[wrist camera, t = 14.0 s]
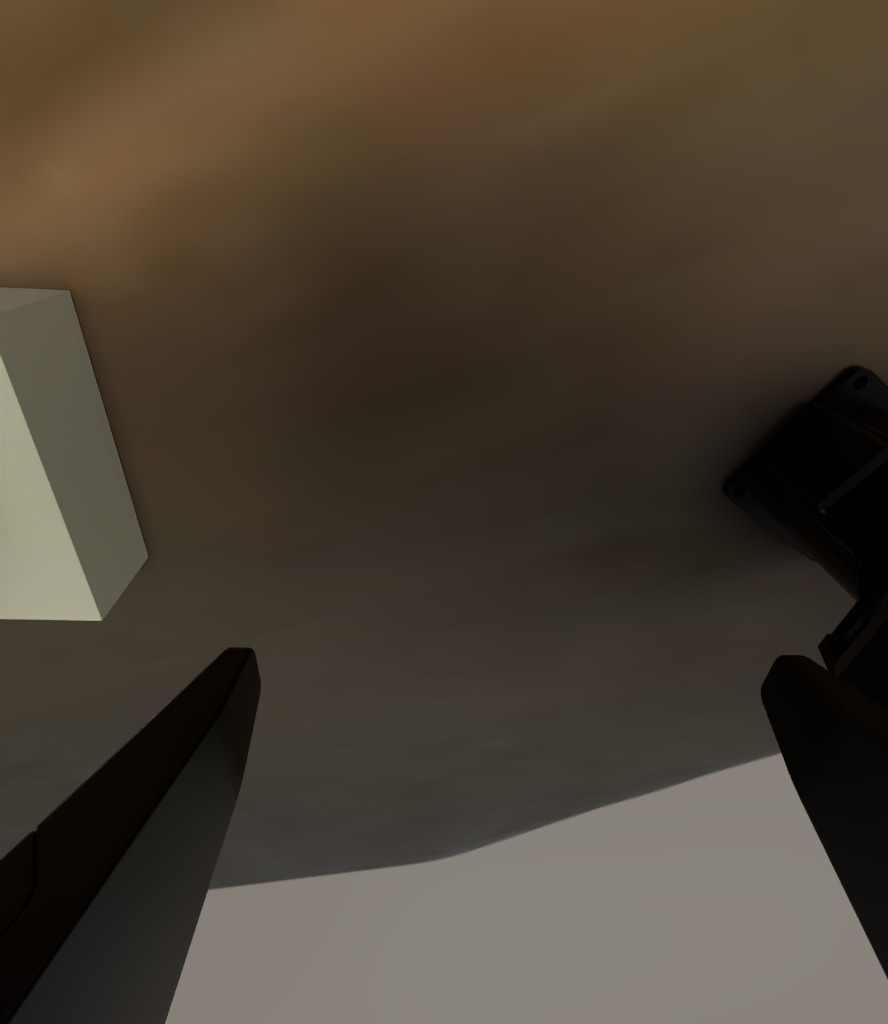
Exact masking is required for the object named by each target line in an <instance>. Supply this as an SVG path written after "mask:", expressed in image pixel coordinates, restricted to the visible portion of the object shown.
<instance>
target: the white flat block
mask: <svg viewBox="0 0 888 1024" xmlns="http://www.w3.org/2000/svg"><path fill="white" fill-rule="evenodd" d="M147 559H148V553H147V550H146V546H145V543H144V540H143V536H142V533H141V530H140V526H139V523H138V520H137V516H136V513H135V509H134V506H133V503H132V499H131V496H130V493H129V489H128V486H127V482H126V479H125V476H124V472H123V469H122V466H121V462H120V459H119V455H118V452H117V449H116V445H115V442H114V439H113V435H112V432H111V429H110V425H109V422H108V418H107V415H106V412H105V408H104V405H103V402H102V398H101V395H100V391H99V388H98V385H97V381H96V378H95V375H94V371H93V368H92V365H91V361H90V358H89V354H88V351H87V348H86V344H85V341H84V338H83V334H82V331H81V327H80V324H79V321H78V317H77V314H76V311H75V307H74V304H73V300H72V297H71V294H70V290H51V289H29V288H8V287H0V619H35V620H91V621H102V620H103V619H104V617H105V616H106V615H107V613H108V612H109V611H110V609H111V608H112V606H113V605H114V604H115V602H116V601H117V600H118V598H119V597H120V596H121V594H122V593H123V591H124V590H125V589H126V587H127V586H128V585H129V583H130V582H131V580H132V579H133V578H134V576H135V575H136V574H137V572H138V571H139V570H140V568H141V567H142V565H143V564H144V563H145V561H146V560H147Z"/></svg>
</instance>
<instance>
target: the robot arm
mask: <svg viewBox="0 0 888 1024" xmlns="http://www.w3.org/2000/svg"><path fill="white" fill-rule="evenodd" d="M860 376H861V377H860ZM859 377H860V380H859V381H858V383H857V384H855V385H853V383H854V381H855V380H856V379H857V378H859ZM738 486H741V488H740V489H739V490H738V491H736V492H734V490H735V488H737V487H738ZM723 493H724V494H725V495H726V496H727V497H728V499H729V500H731V501H732V502H733V503H735V504H736V505H737V506H739V507H740V508H741V509H743V510H744V511H745V512H747V513H748V514H749V515H751V516H752V517H754V518H755V519H756V520H758V521H759V522H760V523H762V524H763V525H764V526H766V527H767V528H768V529H770V530H771V531H772V532H774V533H775V534H777V535H778V536H779V537H781V538H782V539H783V540H785V541H786V542H787V543H789V544H790V545H791V546H793V547H794V548H795V549H797V550H798V551H800V552H801V553H802V554H804V555H805V556H806V557H808V558H809V559H810V560H813V561H817V562H818V563H819V564H820V565H821V566H822V567H823V568H824V569H825V570H826V571H827V572H828V573H829V574H830V575H831V576H832V577H833V578H834V579H835V580H836V581H837V582H838V583H839V584H840V585H841V586H842V587H843V588H844V589H845V590H846V591H847V592H848V593H849V594H850V595H851V596H852V597H853V598H854V599H855V600H856V601H857V602H856V603H855V605H854V606H853V607H852V608H851V610H850V611H849V612H848V613H847V615H846V616H845V617H844V619H843V620H842V621H841V622H840V624H839V625H838V626H837V627H836V629H835V630H834V631H833V632H832V634H827V635H826V636H825V637H824V639H823V640H822V641H821V642H820V644H819V645H818V648H819V650H820V653H821V655H822V657H823V660H824V662H825V665H826V667H827V670H826V669H825V668H823V667H822V666H820V665H819V664H817V663H816V662H814V661H813V660H811V659H809V658H808V657H805V656H801V655H782V656H779V657H778V658H776V660H775V661H774V663H773V665H772V667H771V669H770V671H769V673H768V675H767V676H766V678H765V680H764V682H763V684H762V687H761V699H762V702H763V705H764V708H765V710H766V713H767V716H768V718H769V721H770V724H771V726H772V729H773V732H774V734H775V737H776V740H777V742H778V745H779V748H780V750H781V753H782V756H783V758H784V761H785V764H786V766H787V769H788V772H789V774H790V776H791V779H792V781H793V784H794V786H795V789H796V791H797V793H798V795H799V797H800V800H801V802H802V804H803V806H804V808H805V810H806V812H807V814H808V816H809V818H810V820H811V822H812V824H813V826H814V828H815V831H816V832H817V835H818V837H819V839H820V841H821V843H822V845H823V847H824V849H825V851H826V853H827V855H828V857H829V859H830V861H831V863H832V866H833V868H834V870H835V872H836V874H837V876H838V878H839V880H840V882H841V884H842V886H843V888H844V890H845V892H846V894H847V896H848V898H849V900H850V903H851V905H852V907H853V909H854V910H855V913H856V915H857V917H858V919H859V921H860V923H861V925H862V927H863V929H864V931H865V933H866V935H867V938H868V940H869V942H870V944H871V945H872V948H873V950H874V952H875V954H876V956H877V958H878V960H879V962H880V964H881V966H882V968H883V970H884V972H885V975H886V976H887V979H888V386H887V385H886V384H885V383H884V382H883V381H882V380H881V379H880V378H879V377H878V376H877V375H876V374H875V373H874V372H873V371H871V370H869V369H866V368H864V367H862V366H855V367H852V368H850V369H849V370H847V371H846V372H845V373H844V374H842V375H841V376H840V377H839V378H838V379H837V380H836V381H835V382H834V383H833V384H832V385H830V386H829V387H828V388H827V389H826V390H825V391H824V392H823V393H822V394H821V395H820V396H819V397H817V398H816V399H815V400H814V401H813V402H812V403H811V404H810V405H809V406H808V407H807V408H805V409H804V410H803V411H802V412H801V413H800V414H799V415H798V416H797V417H796V418H795V419H794V420H792V421H791V422H790V423H789V424H788V425H787V426H786V427H785V428H784V429H783V430H782V431H780V432H779V433H778V434H777V435H776V436H775V437H774V438H773V439H772V440H771V441H770V442H769V443H767V444H766V445H765V446H764V447H763V448H762V449H761V450H760V451H759V452H758V453H757V454H756V455H754V456H753V457H752V458H751V459H750V460H749V461H748V462H747V463H746V464H745V465H744V466H742V467H741V468H740V469H739V470H738V471H737V472H736V473H735V474H734V475H733V476H732V477H731V478H729V479H728V480H727V481H726V483H725V484H724V486H723ZM260 690H261V681H260V676H259V670H258V665H257V660H256V655H255V652H254V650H253V649H252V648H238V647H231V648H228V649H226V650H224V651H223V652H222V653H221V654H220V655H219V656H218V657H217V658H216V659H215V660H214V661H213V662H212V663H210V664H209V665H208V666H207V667H206V668H205V669H204V670H203V671H202V672H201V673H200V674H199V675H198V676H197V677H196V678H194V679H193V680H192V681H191V682H190V683H189V684H188V685H187V686H186V687H185V688H184V689H183V690H182V691H181V692H180V693H178V694H177V695H176V696H175V697H174V698H173V699H172V700H171V701H170V702H169V703H168V704H167V705H166V706H165V707H164V708H162V709H161V710H160V711H159V712H158V713H157V714H156V715H155V716H154V717H153V718H152V719H151V720H150V721H149V722H148V723H146V724H145V725H144V726H143V727H142V728H141V729H140V730H139V731H138V732H137V733H136V734H135V735H134V736H133V737H131V738H130V739H129V740H128V741H127V742H126V743H125V744H124V745H123V746H122V747H121V748H120V749H119V750H118V751H117V752H115V753H114V754H113V755H112V756H111V757H110V758H109V759H108V760H107V761H106V762H105V763H104V764H103V765H102V766H101V767H99V768H98V769H97V770H96V771H95V772H94V773H93V774H92V775H91V776H90V777H89V778H88V779H87V780H86V781H85V782H83V783H82V784H81V785H80V786H79V787H78V788H77V789H76V790H75V791H74V792H73V793H72V794H71V795H70V796H69V797H67V798H66V799H65V800H64V801H63V802H62V803H61V804H60V805H59V806H58V807H57V808H56V809H55V810H54V811H53V812H51V813H50V814H49V815H48V816H47V817H46V818H45V819H44V820H43V821H42V822H41V823H40V824H39V825H38V826H37V828H36V831H31V832H30V833H29V834H28V835H27V836H26V837H24V838H23V839H22V840H21V841H20V842H19V843H18V844H17V845H16V846H15V847H14V848H13V849H12V850H11V851H10V852H8V853H7V854H6V855H5V856H4V857H3V858H2V859H1V860H0V1024H165V1022H166V1018H167V1016H168V1012H169V1009H170V1006H171V1003H172V1000H173V997H174V994H175V990H176V988H177V984H178V981H179V978H180V975H181V972H182V969H183V966H184V963H185V960H186V956H187V953H188V950H189V947H190V944H191V941H192V938H193V935H194V932H195V928H196V926H197V922H198V919H199V916H200V913H201V910H202V907H203V903H204V900H205V898H206V894H207V891H208V888H209V885H210V882H211V879H212V876H213V873H214V870H215V866H216V863H217V860H218V857H219V854H220V851H221V848H222V845H223V842H224V839H225V835H226V832H227V829H228V826H229V823H230V820H231V817H232V814H233V811H234V807H235V804H236V801H237V798H238V794H239V791H240V788H241V784H242V780H243V775H244V771H245V766H246V761H247V756H248V751H249V746H250V741H251V736H252V732H253V727H254V722H255V717H256V712H257V707H258V702H259V697H260Z"/></svg>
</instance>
